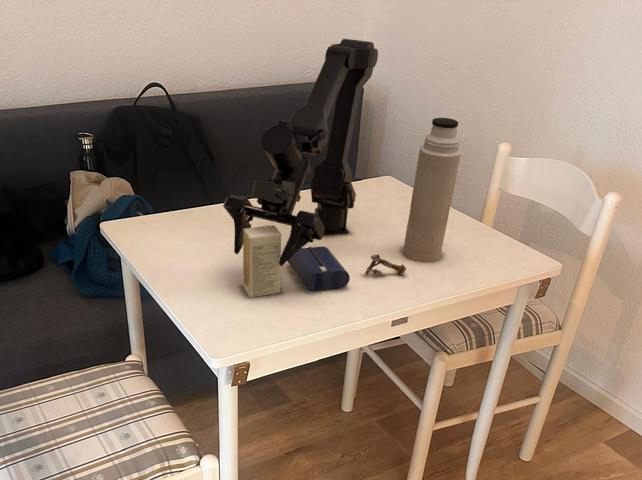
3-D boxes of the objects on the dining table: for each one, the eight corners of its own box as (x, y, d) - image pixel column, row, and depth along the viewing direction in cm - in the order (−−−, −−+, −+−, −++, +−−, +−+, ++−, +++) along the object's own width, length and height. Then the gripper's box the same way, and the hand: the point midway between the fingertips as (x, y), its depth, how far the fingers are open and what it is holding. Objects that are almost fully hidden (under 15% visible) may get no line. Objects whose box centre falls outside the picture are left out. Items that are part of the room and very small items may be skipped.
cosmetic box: (273, 283, 131) (275, 224, 124) (280, 293, 127) (283, 233, 120) (241, 287, 129) (242, 227, 122) (247, 297, 126) (249, 237, 119)
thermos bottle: (440, 248, 147) (466, 116, 132) (440, 263, 141) (468, 127, 125) (403, 243, 149) (425, 112, 133) (402, 259, 142) (424, 123, 126)
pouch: (329, 263, 139) (330, 244, 137) (348, 288, 130) (351, 268, 128) (286, 267, 137) (287, 247, 134) (303, 292, 128) (305, 272, 126)
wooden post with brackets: (360, 270, 135) (371, 250, 133) (392, 282, 138) (403, 263, 136) (363, 274, 133) (374, 254, 131) (395, 286, 137) (407, 267, 135)
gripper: (228, 151, 121) (196, 229, 119) (323, 170, 114) (292, 253, 112) (248, 181, 131) (219, 253, 129) (337, 200, 125) (308, 277, 122)
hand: (257, 259), depth 123 cm, fingers open, 9 cm apart
